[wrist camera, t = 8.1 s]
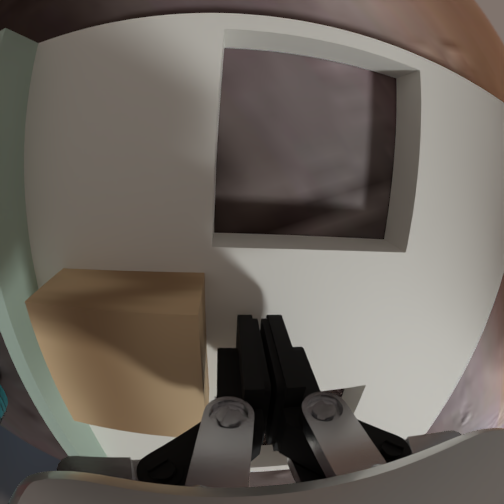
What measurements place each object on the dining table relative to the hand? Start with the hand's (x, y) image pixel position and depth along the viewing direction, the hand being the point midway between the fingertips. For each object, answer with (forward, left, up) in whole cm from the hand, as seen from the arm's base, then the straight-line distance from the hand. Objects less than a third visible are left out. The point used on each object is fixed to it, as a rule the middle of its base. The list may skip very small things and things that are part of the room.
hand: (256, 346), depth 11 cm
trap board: (-2, 0, -3) cm, 4 cm away
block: (+5, 0, -1) cm, 5 cm away
